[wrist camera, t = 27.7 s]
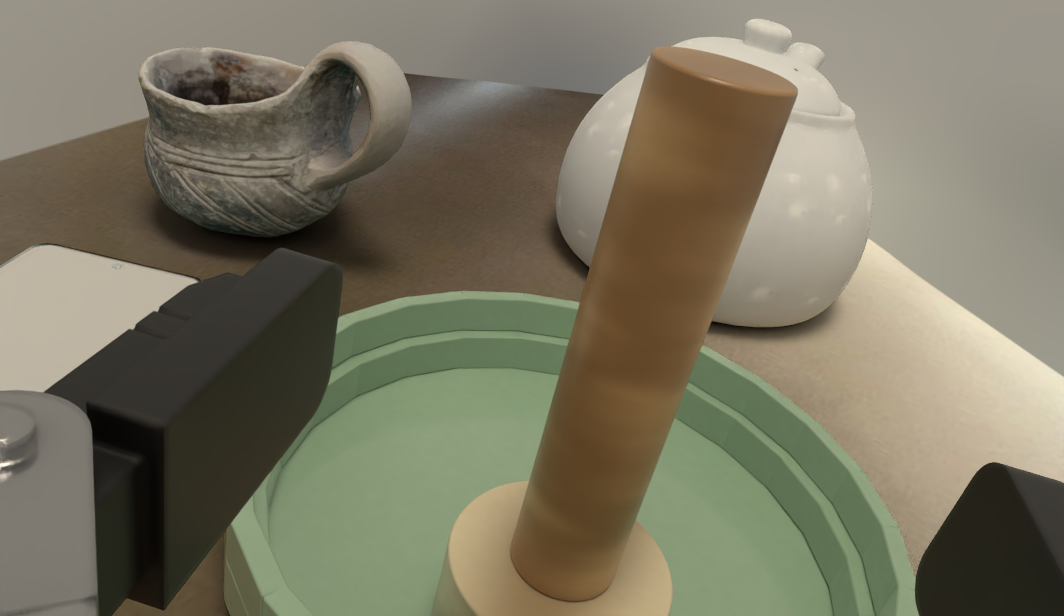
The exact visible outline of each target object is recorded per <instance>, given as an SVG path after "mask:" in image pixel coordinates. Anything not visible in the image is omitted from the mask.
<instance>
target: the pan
mask: <svg viewBox="0 0 1064 616" xmlns="http://www.w3.org/2000/svg"><path fill="white" fill-rule="evenodd" d="M579 304H580V302H575V301H569V300H563V299H557V298H551V297H545V296H539V295H532V294H526V293H523V294H522V293H512V292H482V291H455V292H446V293H437V294H428V295H420V296H411V297H402V298H398V299H394V300H391V301H388V302H384V303H381V304H378V305H374V306H371V307H368V308H365V309H361V310H358V311H355V312H351V313H348V314H345V315H344V316H340V317H339V318H338V323H337V331H336V339H335V347H334V355H333V364H332V370H331V375H330V379H329V383H328V386H327V389H326V392H325V395H324V397H323V399H322V402H321V404H320V406H319V408H318V409H317V411H316V413H315V414H314V416H313V417H312V419H311V420H310V421H309V422H308V424H307V425H306V426H305V428H304V429H303V430H302V432H301V433H300V434H299V435H298V437H297V438H296V439H295V441H294V442H293V443H292V445H291V446H290V447H289V448H288V450H287V451H286V452H285V454H284V455H283V456H282V458H281V459H280V460H279V461H278V463H277V464H276V465H275V467H274V468H273V469H272V471H271V472H270V473H269V474H268V476H267V477H266V478H265V480H264V481H263V482H262V484H261V485H260V486H259V488H258V489H257V490H256V491H255V493H254V494H253V495H252V497H251V498H250V499H249V501H248V502H247V503H246V504H245V506H244V507H243V508H242V510H241V511H240V512H239V514H238V515H237V516H236V517H235V519H234V520H233V521H232V523H231V524H230V525H229V527H228V528H227V529H226V530H225V532H224V533H223V571H224V601H225V603H226V606H227V609H228V611H229V614H230V616H431V614H432V609H433V605H434V601H435V596H436V592H437V588H438V583H439V579H440V575H441V570H442V566H443V562H444V557H445V553H446V549H447V545H448V540H449V536H450V533H451V530H452V527H453V524H454V523H455V521H456V519H457V517H458V516H459V514H460V513H461V512H462V511H463V509H464V508H465V507H466V506H467V505H468V504H469V503H470V502H472V501H473V500H474V499H475V498H476V497H478V496H480V495H481V494H483V493H484V492H486V491H488V490H491V489H493V488H495V487H498V486H501V485H504V484H508V483H513V482H519V481H529V479H530V476H531V472H532V469H533V465H534V462H535V458H536V455H537V451H538V448H539V444H540V441H541V437H542V434H543V430H544V427H545V423H546V420H547V416H548V413H549V409H550V406H551V402H552V398H553V395H554V391H555V388H556V384H557V381H558V377H559V374H560V370H561V367H562V363H563V360H564V356H565V353H566V349H567V346H568V342H569V339H570V335H571V332H572V328H573V325H574V321H575V318H576V314H577V311H578V307H579ZM636 520H637V521H638V522H639V523H640V524H641V525H642V526H643V527H644V528H645V529H646V530H647V531H648V532H649V533H650V535H651V536H652V537H653V539H654V540H655V541H656V543H657V544H658V546H659V548H660V549H661V551H662V553H663V555H664V557H665V559H666V561H667V564H668V567H669V570H670V574H671V579H672V586H673V601H672V606H671V611H670V614H669V616H919V613H918V610H917V606H916V601H915V581H916V579H915V576H914V572H913V569H912V566H911V563H910V559H909V556H908V553H907V550H906V546H905V543H904V540H903V537H902V533H901V530H900V529H899V526H898V525H897V523H896V521H895V520H894V518H893V517H892V515H891V513H890V512H889V510H888V509H887V507H886V505H885V504H884V502H883V501H882V499H881V497H880V496H879V494H878V493H877V491H876V489H875V488H874V486H873V485H872V483H871V481H870V480H869V478H868V477H867V475H866V473H865V472H863V469H862V468H861V467H860V466H859V465H858V464H857V463H856V462H855V461H854V460H853V458H852V457H851V456H850V455H849V454H848V453H847V452H846V451H845V450H844V449H843V448H842V447H841V446H840V445H839V444H838V442H837V441H836V440H835V439H834V438H833V437H832V436H831V435H830V434H829V433H828V432H827V431H826V430H825V429H824V428H823V427H822V425H821V424H820V423H819V422H817V421H816V420H815V419H814V418H812V417H811V416H810V415H809V414H807V413H806V412H805V411H803V410H802V409H801V408H800V407H798V406H797V405H796V404H794V403H793V402H792V401H791V400H789V399H788V398H787V397H785V396H784V395H783V394H782V393H780V392H779V391H778V390H776V389H775V388H774V387H772V386H771V385H770V384H769V383H767V382H766V381H764V380H763V379H762V378H760V377H758V376H757V375H755V374H753V373H751V372H750V371H748V370H746V369H745V368H743V367H741V366H739V365H738V364H736V363H734V362H732V361H731V360H729V359H727V358H726V357H724V356H722V355H720V354H719V353H717V352H715V351H713V350H712V349H710V348H708V347H705V346H704V345H702V347H701V350H700V353H699V355H698V358H697V360H696V363H695V366H694V368H693V371H692V374H691V376H690V379H689V381H688V384H687V387H686V389H685V392H684V395H683V397H682V400H681V402H680V405H679V408H678V410H677V413H676V416H675V418H674V421H673V423H672V426H671V429H670V431H669V434H668V437H667V439H666V442H665V444H664V447H663V450H662V452H661V455H660V458H659V460H658V463H657V465H656V468H655V471H654V473H653V476H652V479H651V481H650V484H649V486H648V489H647V492H646V494H645V497H644V500H643V502H642V505H641V507H640V510H639V513H638V515H637V518H636Z"/></svg>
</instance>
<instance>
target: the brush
mask: <svg viewBox="0 0 1064 616" xmlns="http://www.w3.org/2000/svg"><path fill="white" fill-rule="evenodd" d="M797 95H798V88H797V87H796V86H795V85H794V84H793V83H791V82H790V81H789V80H787V79H785V78H784V77H782V76H780V75H777V74H775V73H773V72H771V71H768V70H766V69H763V68H761V67H758V66H755V65H752V64H749V63H746V62H743V61H740V60H736V59H733V58H729V57H726V56H722V55H718V54H714V53H710V52H705V51H701V50H695V49H689V48H683V47H672V46H668V47H667V46H666V47H657V48H655V49H654V50H653V51H652V52H651V55H650V58H649V62H648V65H647V69H646V72H645V76H644V79H643V83H642V86H641V90H640V93H639V97H638V100H637V104H636V107H635V111H634V114H633V118H632V121H631V125H630V128H629V132H628V135H627V139H626V142H625V146H624V149H623V153H622V156H621V160H620V163H619V167H618V170H617V174H616V177H615V181H614V184H613V188H612V191H611V195H610V198H609V202H608V205H607V209H606V212H605V216H604V219H603V223H602V227H601V230H600V234H599V237H598V241H597V244H596V248H595V251H594V255H593V258H592V262H591V265H590V269H589V272H588V276H587V279H586V283H585V286H584V290H583V293H582V297H581V300H580V304H579V307H578V311H577V314H576V318H575V321H574V325H573V328H572V332H571V335H570V339H569V342H568V346H567V349H566V353H565V356H564V360H563V363H562V367H561V370H560V374H559V377H558V381H557V384H556V388H555V391H554V395H553V398H552V402H551V406H550V409H549V413H548V416H547V420H546V423H545V427H544V430H543V434H542V437H541V441H540V444H539V448H538V451H537V455H536V458H535V462H534V465H533V469H532V472H531V476H530V479H529V481H519V482H513V483H508V484H504V485H501V486H498V487H495V488H493V489H491V490H488V491H486V492H484V493H483V494H481V495H480V496H478V497H476V498H475V499H474V500H473V501H472V502H470V503H469V504H468V505H467V506H466V507H465V508H464V509H463V511H462V512H461V513H460V514H459V516H458V517H457V519H456V521H455V523H454V524H453V527H452V530H451V533H450V536H449V540H448V545H447V549H446V553H445V557H444V562H443V566H442V570H441V575H440V579H439V583H438V588H437V592H436V596H435V601H434V605H433V609H432V614H431V616H669V614H670V611H671V606H672V601H673V586H672V579H671V574H670V570H669V567H668V564H667V561H666V559H665V557H664V555H663V553H662V551H661V549H660V548H659V546H658V544H657V543H656V541H655V540H654V539H653V537H652V536H651V535H650V533H649V532H648V531H647V530H646V529H645V528H644V527H643V526H642V525H641V524H640V523H639V522H638V521H637V520H636V518H637V515H638V513H639V510H640V507H641V505H642V502H643V500H644V497H645V494H646V492H647V489H648V486H649V484H650V481H651V479H652V476H653V473H654V471H655V468H656V465H657V463H658V460H659V458H660V455H661V452H662V450H663V447H664V444H665V442H666V439H667V437H668V434H669V431H670V429H671V426H672V423H673V421H674V418H675V416H676V413H677V410H678V408H679V405H680V402H681V400H682V397H683V395H684V392H685V389H686V387H687V384H688V381H689V379H690V376H691V374H692V371H693V368H694V366H695V363H696V360H697V358H698V355H699V353H700V350H701V347H702V345H703V342H704V339H705V337H706V334H707V332H708V329H709V326H710V324H711V321H712V318H713V316H714V313H715V311H716V308H717V305H718V303H719V300H720V297H721V295H722V292H723V290H724V287H725V284H726V282H727V279H728V276H729V274H730V271H731V269H732V266H733V263H734V261H735V258H736V256H737V253H738V250H739V248H740V245H741V242H742V240H743V237H744V235H745V232H746V229H747V227H748V224H749V221H750V219H751V216H752V214H753V211H754V208H755V206H756V203H757V200H758V198H759V195H760V193H761V190H762V187H763V185H764V182H765V179H766V177H767V174H768V172H769V169H770V166H771V164H772V161H773V158H774V156H775V153H776V151H777V148H778V145H779V143H780V140H781V137H782V135H783V132H784V130H785V127H786V124H787V122H788V119H789V116H790V114H791V111H792V109H793V106H794V103H795V101H796V98H797Z"/></svg>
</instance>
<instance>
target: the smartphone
mask: <svg viewBox="0 0 1064 616" xmlns="http://www.w3.org/2000/svg"><path fill="white" fill-rule="evenodd" d="M200 281H202V280H200V279H198V278H196V277H192V276H188V275H184V274H179V273H175V272H171V271H167V270H163V269H158V268H154V267H150V266H146V265H141V264H137V263H133V262H129V261H125V260H120V259H116V258H112V257H108V256H104V255H99V254H95V253H91V252H87V251H82V250H78V249H74V248H70V247H66V246H61V245H57V244H49V243H46V244H38V245H34V246H32V247H30V248H28V249H26V250H25V251H23V252H22V253H20V254H18V255H17V256H15V257H13V258H12V259H10V260H9V261H7V262H5V263H4V264H2V265H1V266H0V391H7V390H24V391H36V392H44V391H45V390H47V389H48V388H49V387H51V386H52V385H53V384H55V383H56V382H57V381H59V380H60V379H62V378H63V377H64V376H66V375H67V374H68V373H70V372H71V371H72V370H74V369H75V368H76V367H78V366H79V365H81V364H82V363H83V362H85V361H86V360H87V359H89V358H90V357H91V356H93V355H94V354H96V353H97V352H98V351H100V350H101V349H102V348H104V347H105V346H106V345H108V344H109V343H110V342H112V341H113V340H115V339H116V338H117V337H119V336H120V335H121V334H123V333H124V332H125V331H127V330H128V329H132V330H134V328H135V325H136V323H138V322H139V321H140V320H142V319H143V318H144V317H146V316H147V315H149V314H150V313H151V312H153V311H157V312H158V310H159V306H161V305H162V304H164V303H165V302H166V301H168V300H169V299H170V298H172V297H173V296H174V295H176V294H177V293H178V292H180V291H181V290H183V289H184V288H185V287H187V286H188V285H191V284H194V283H197V282H200Z"/></svg>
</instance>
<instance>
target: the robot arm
mask: <svg viewBox="0 0 1064 616" xmlns="http://www.w3.org/2000/svg"><path fill="white" fill-rule="evenodd" d="M341 290H342V270H341V267H340V266H339V265H338V264H335V263H332V262H329V261H325V260H322V259H319V258H315V257H312V256H308V255H305V254H302V253H298V252H295V251H292V250H288V249H285V248H279V249H276V250H275V251H274V252H272V253H271V254H270V255H269V256H267V257H266V258H265V259H264V260H262V261H261V262H260V263H259V264H257V265H256V266H255V267H254V268H252V269H251V270H250V271H249V272H247V273H246V274H245V275H244V276H242V277H241V276H238V275H234V274H231V273H225V274H222V275H219V276H216V277H213V278H210V279H207V280H203V281H200V282H197V283H194V284H191V285H188V286H187V287H185V288H184V289H183V290H181V291H180V292H178V293H177V294H176V295H174V296H173V297H172V298H170V299H169V300H168V301H166V302H165V303H164V304H162V305H161V306H159V310H158V312H157V311H153V312H151V313H150V314H149V315H147V316H146V317H144V318H143V319H142V320H140V321H139V322H138V323H136V325H135V328H134V330H132V329H128V330H127V331H125V332H124V333H123V334H121V335H120V336H119V337H117V338H116V339H115V340H113V341H112V342H110V343H109V344H108V345H106V346H105V347H104V348H102V349H101V350H100V351H98V352H97V353H96V354H94V355H93V356H91V357H90V358H89V359H87V360H86V361H85V362H83V363H82V364H81V365H79V366H78V367H76V368H75V369H74V370H72V371H71V372H70V373H68V374H67V375H66V376H64V377H63V378H62V379H60V380H59V381H57V382H56V383H55V384H53V385H52V386H51V387H49V388H48V389H47V390H45V391H44V392H36V391H24V390H7V391H0V616H112V615H113V613H114V612H115V611H116V610H117V609H118V607H119V606H120V605H121V604H122V603H123V602H124V600H125V599H126V598H128V599H131V600H134V601H137V602H140V603H143V604H146V605H149V606H152V607H155V608H158V609H161V610H165V609H166V607H167V606H168V605H169V603H170V602H171V601H172V599H173V598H174V597H175V596H176V594H177V593H178V592H179V590H180V589H181V588H182V586H183V585H184V584H185V583H186V581H187V580H188V579H189V577H190V576H191V575H192V573H193V572H194V571H195V570H196V568H197V567H198V566H199V564H200V563H201V562H202V560H203V559H204V558H205V556H206V555H207V554H208V553H209V551H210V550H211V549H212V547H213V546H214V545H215V543H216V542H217V541H218V540H219V538H220V537H221V536H222V534H223V533H224V532H225V530H226V529H227V528H228V527H229V525H230V524H231V523H232V521H233V520H234V519H235V517H236V516H237V515H238V514H239V512H240V511H241V510H242V508H243V507H244V506H245V504H246V503H247V502H248V501H249V499H250V498H251V497H252V495H253V494H254V493H255V491H256V490H257V489H258V488H259V486H260V485H261V484H262V482H263V481H264V480H265V478H266V477H267V476H268V474H269V473H270V472H271V471H272V469H273V468H274V467H275V465H276V464H277V463H278V461H279V460H280V459H281V458H282V456H283V455H284V454H285V452H286V451H287V450H288V448H289V447H290V446H291V445H292V443H293V442H294V441H295V439H296V438H297V437H298V435H299V434H300V433H301V432H302V430H303V429H304V428H305V426H306V425H307V424H308V422H309V421H310V420H311V419H312V417H313V416H314V414H315V413H316V411H317V409H318V408H319V406H320V404H321V402H322V399H323V397H324V395H325V392H326V389H327V386H328V383H329V379H330V375H331V370H332V364H333V355H334V347H335V339H336V331H337V323H338V315H339V307H340V299H341ZM915 601H916V606H917V610H918V613H919V616H1064V483H1062V482H1060V481H1057V480H1054V479H1050V478H1047V477H1044V476H1040V475H1037V474H1034V473H1030V472H1027V471H1024V470H1020V469H1017V468H1014V467H1010V466H1007V465H1004V464H1000V463H995V462H993V463H989V464H986V465H984V466H983V467H982V468H980V470H979V471H978V472H977V473H976V474H975V475H974V477H973V478H972V480H971V481H970V483H969V484H968V486H967V487H966V489H965V490H964V492H963V494H962V495H961V497H960V498H959V500H958V501H957V503H956V504H955V506H954V508H953V509H952V511H951V512H950V514H949V515H948V517H947V518H946V520H945V521H944V523H943V525H942V526H941V528H940V529H939V531H938V532H937V534H936V535H935V537H934V539H933V540H932V542H931V543H930V545H929V546H928V548H927V549H926V551H925V553H924V555H923V556H922V559H921V561H920V564H919V567H918V571H917V575H916V581H915Z"/></svg>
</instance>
